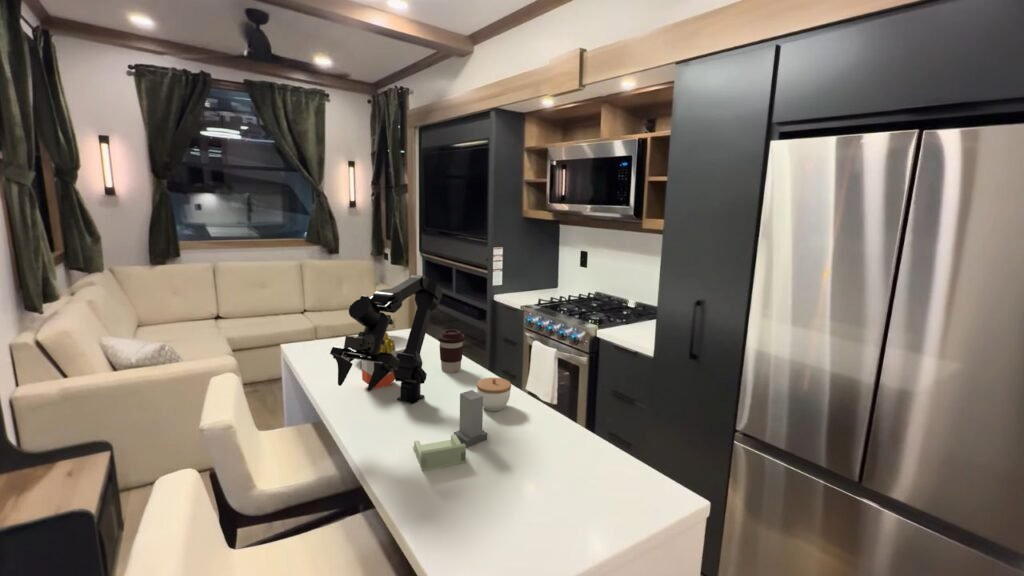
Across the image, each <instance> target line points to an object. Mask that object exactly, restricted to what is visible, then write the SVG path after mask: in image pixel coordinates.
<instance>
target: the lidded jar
mask: <svg viewBox="0 0 1024 576" xmlns="http://www.w3.org/2000/svg"><path fill="white" fill-rule="evenodd" d="M511 388H512V383H511V382H510V381H509V380H508V379H505V378H501V377H486V378H482V379H480V380H478V381H477V382H476V389H477V390H476V392H477V393H479V394H480V395H482V396H483V409H485V410H486V411H489V412H490V411H491V412H498V411H500V410H502V409H504V407H505V406H506V405H507V403H508V402H509V400H510V397H511Z"/></svg>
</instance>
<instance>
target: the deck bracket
mask: <svg viewBox="0 0 1024 576" xmlns="http://www.w3.org/2000/svg"><path fill="white" fill-rule="evenodd" d="M413 444H414V445H412V449H413V452H414V454H416V455H415V456H416V459H418V460H417V462H418V464H420V465H419V467H420V469H422V470H421V471H422V472H423V470H424V471H429V470H434V469H433V468H435V469H439V467H440V468H444V466H445V467H450V466H453V465H454V464H455V465H459V464H460V465H461V464H465V463H466V460H467V459H466V455H467V453H466V452H467V448H466V445H465V444H461V443H460V441H459V439H458V438H457V436H456V434H454V433H453V434H450V439H447V440H441V441H435V442H429V443H423V444H421V442H420V440H419V439H418V440H414V443H413ZM449 465H450V466H449Z"/></svg>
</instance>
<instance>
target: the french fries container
mask: <svg viewBox="0 0 1024 576" xmlns="http://www.w3.org/2000/svg"><path fill="white" fill-rule="evenodd" d="M388 335H389V333H388V332H387V331H386V333H385V336H384V338H383V340H384V341H385V344H384V345H382V344H381V347H380V350H379V352H378V354H379V353H380V352H383V353H390V354H392V355H394V356H395V357H396V350H395V344H394V341H393V339H391V338H388ZM361 357H363V356H361ZM368 358H371V357H368ZM376 363H377V362H376ZM392 370H393V369H392ZM373 371H374V362H371V361H365V360H361V380H362V382H365V383H366V384H367V385H369V382H370V379H371V377H372V374H373ZM394 381H395V377H394V373H393V372H389V373H388V374H387V375H386V376H385V377H384V378H383V379H382V380H381V381H380V382H379V383H378V384H377V385H376V386H375V387H374V388H373V389H375V390H376V389H380V388H385V387H387V386H391V385H392V383H393V382H394Z"/></svg>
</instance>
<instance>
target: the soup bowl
mask: <svg viewBox="0 0 1024 576" xmlns="http://www.w3.org/2000/svg"><path fill="white" fill-rule="evenodd" d="M388 338H391V339H393V341H394V344H395V350H396V356H397V354H398V353H402V352H403V351H404V350H405V348H406V345H407V341H408V338H409V336H404V335H399V334H388Z"/></svg>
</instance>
